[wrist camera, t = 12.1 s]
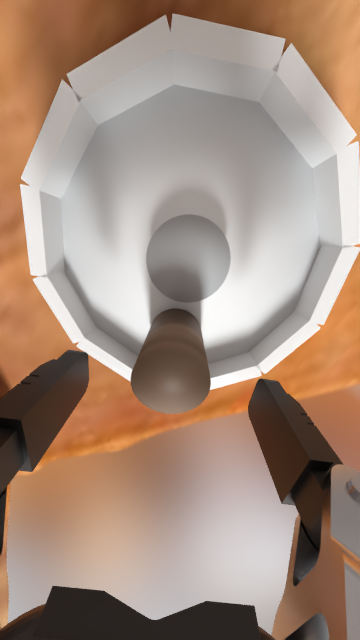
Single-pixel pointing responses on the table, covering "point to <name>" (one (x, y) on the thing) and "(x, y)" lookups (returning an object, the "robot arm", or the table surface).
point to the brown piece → (172, 364)
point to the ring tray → (193, 197)
